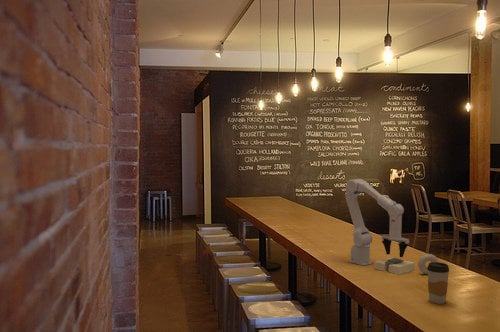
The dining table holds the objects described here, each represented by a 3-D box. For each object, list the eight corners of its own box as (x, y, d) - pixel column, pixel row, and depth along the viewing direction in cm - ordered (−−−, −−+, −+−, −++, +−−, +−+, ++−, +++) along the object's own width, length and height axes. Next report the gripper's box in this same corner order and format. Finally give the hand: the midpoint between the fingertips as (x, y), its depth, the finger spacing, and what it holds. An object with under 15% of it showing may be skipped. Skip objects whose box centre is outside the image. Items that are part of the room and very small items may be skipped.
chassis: (374, 268, 258) (374, 261, 258) (390, 264, 267) (390, 257, 267) (399, 274, 247) (399, 267, 247) (414, 269, 256) (414, 262, 256)
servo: (384, 270, 255) (384, 259, 254) (396, 266, 262) (397, 256, 262) (391, 272, 252) (391, 260, 251) (403, 268, 259) (404, 257, 259)
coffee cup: (443, 298, 211) (444, 261, 210) (452, 304, 203) (453, 267, 202) (423, 298, 211) (424, 261, 210) (431, 304, 202) (431, 267, 202)
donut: (419, 275, 246) (419, 254, 245) (416, 273, 249) (417, 253, 249) (440, 275, 246) (440, 254, 245) (437, 273, 249) (437, 253, 249)
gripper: (378, 227, 259) (377, 254, 260) (403, 231, 248) (403, 259, 249) (386, 225, 263) (385, 252, 264) (411, 229, 253) (411, 257, 253)
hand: (394, 255), depth 257 cm, fingers open, 7 cm apart
